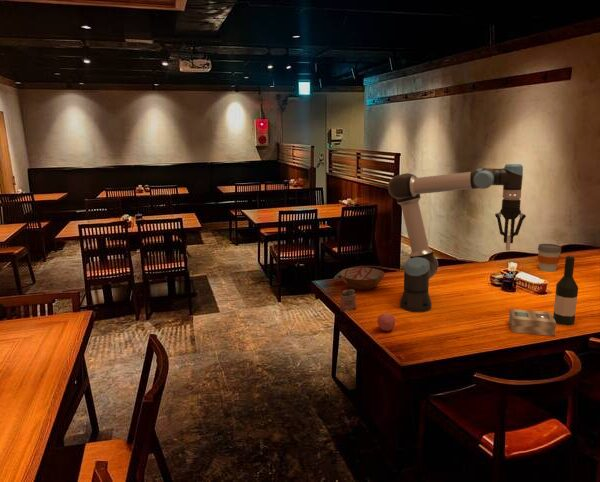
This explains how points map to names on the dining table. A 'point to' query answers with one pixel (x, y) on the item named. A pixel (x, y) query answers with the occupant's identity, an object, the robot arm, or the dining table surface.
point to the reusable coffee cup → (548, 257)
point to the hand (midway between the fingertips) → (507, 249)
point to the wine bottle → (566, 295)
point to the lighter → (347, 300)
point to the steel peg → (542, 316)
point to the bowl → (361, 277)
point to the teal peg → (521, 314)
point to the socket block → (532, 323)
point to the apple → (386, 321)
